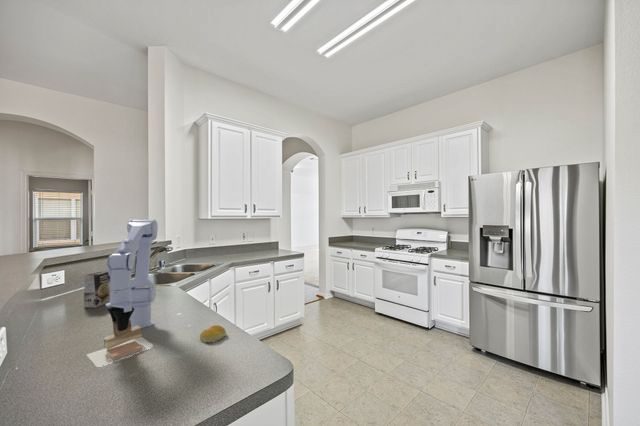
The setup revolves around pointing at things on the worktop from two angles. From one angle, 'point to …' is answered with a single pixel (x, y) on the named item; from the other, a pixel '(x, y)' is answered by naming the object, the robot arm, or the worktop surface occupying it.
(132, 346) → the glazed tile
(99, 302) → the coffee box
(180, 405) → the worktop surface
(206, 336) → the bread roll
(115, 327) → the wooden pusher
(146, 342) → the rubber mat
